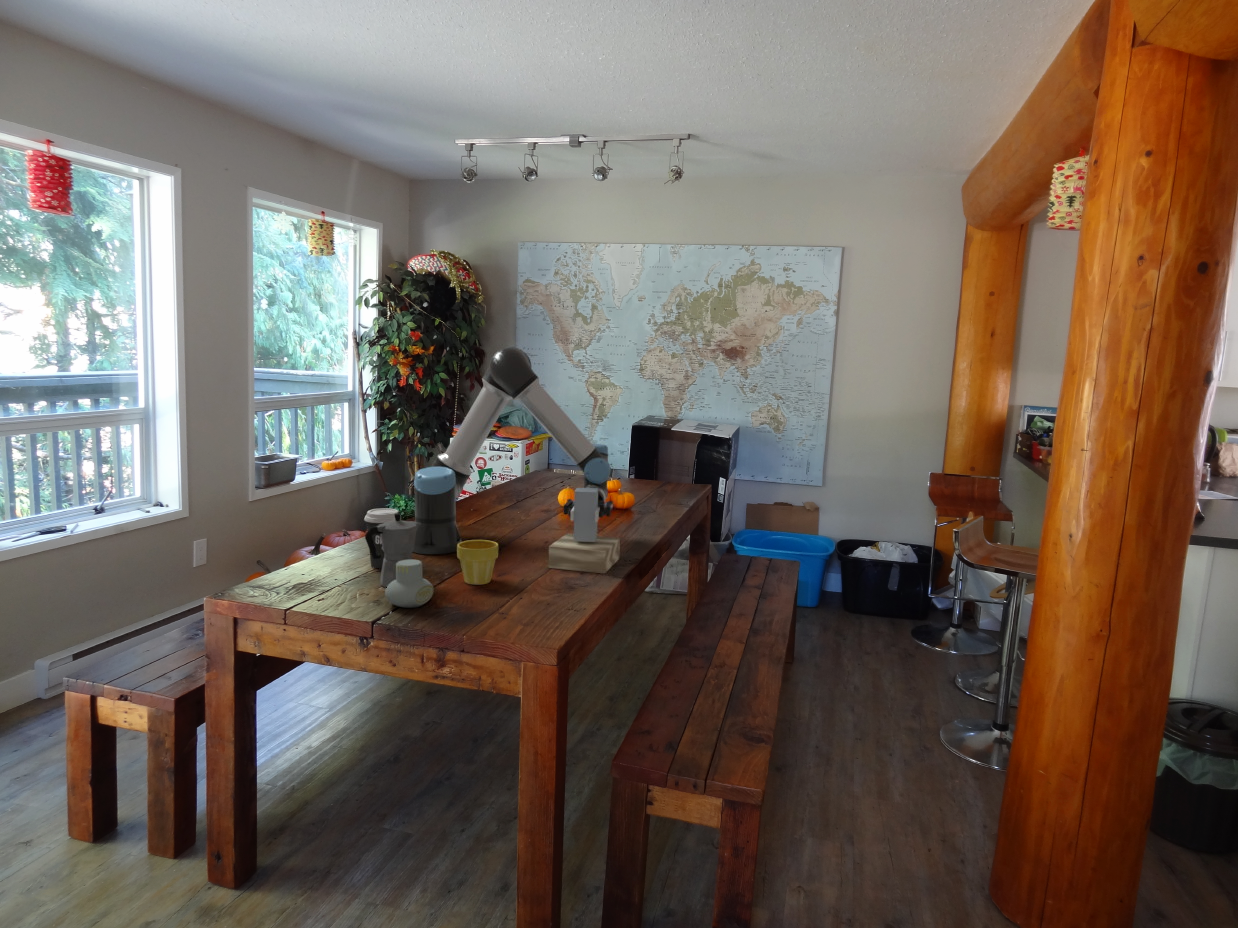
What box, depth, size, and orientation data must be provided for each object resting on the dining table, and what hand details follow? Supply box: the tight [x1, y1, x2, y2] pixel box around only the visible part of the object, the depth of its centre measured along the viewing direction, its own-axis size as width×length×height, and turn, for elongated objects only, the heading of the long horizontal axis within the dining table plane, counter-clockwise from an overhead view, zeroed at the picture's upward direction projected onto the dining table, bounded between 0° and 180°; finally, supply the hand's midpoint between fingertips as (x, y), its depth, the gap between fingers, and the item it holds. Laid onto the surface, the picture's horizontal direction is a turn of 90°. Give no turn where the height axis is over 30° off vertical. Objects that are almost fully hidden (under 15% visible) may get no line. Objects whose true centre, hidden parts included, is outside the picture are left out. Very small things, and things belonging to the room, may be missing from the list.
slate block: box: [573, 487, 598, 542], centre depth 220 cm, size 6×6×14 cm
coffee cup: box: [363, 507, 402, 570], centre depth 213 cm, size 10×10×15 cm
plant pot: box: [456, 539, 499, 586], centre depth 202 cm, size 10×10×10 cm
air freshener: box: [384, 559, 435, 609], centre depth 183 cm, size 11×8×10 cm
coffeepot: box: [364, 512, 421, 588], centre depth 197 cm, size 15×9×18 cm, turn 137°
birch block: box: [548, 533, 621, 574], centre depth 221 cm, size 16×16×6 cm
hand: (584, 516), depth 215 cm, fingers closed on slate block, 6 cm apart
